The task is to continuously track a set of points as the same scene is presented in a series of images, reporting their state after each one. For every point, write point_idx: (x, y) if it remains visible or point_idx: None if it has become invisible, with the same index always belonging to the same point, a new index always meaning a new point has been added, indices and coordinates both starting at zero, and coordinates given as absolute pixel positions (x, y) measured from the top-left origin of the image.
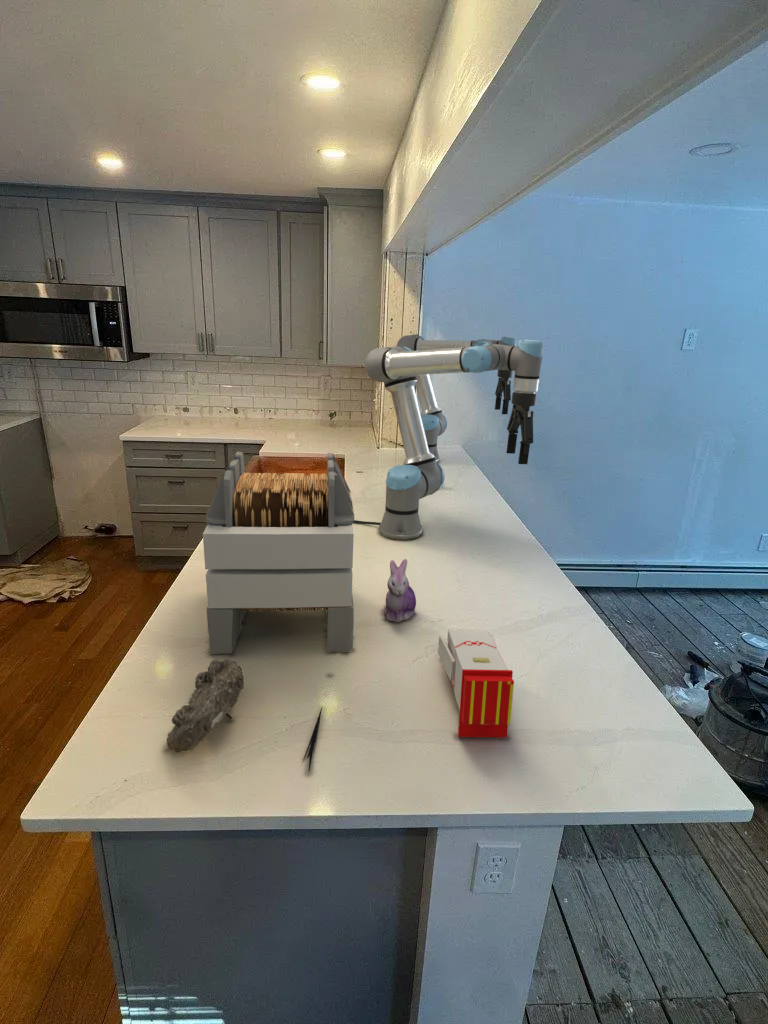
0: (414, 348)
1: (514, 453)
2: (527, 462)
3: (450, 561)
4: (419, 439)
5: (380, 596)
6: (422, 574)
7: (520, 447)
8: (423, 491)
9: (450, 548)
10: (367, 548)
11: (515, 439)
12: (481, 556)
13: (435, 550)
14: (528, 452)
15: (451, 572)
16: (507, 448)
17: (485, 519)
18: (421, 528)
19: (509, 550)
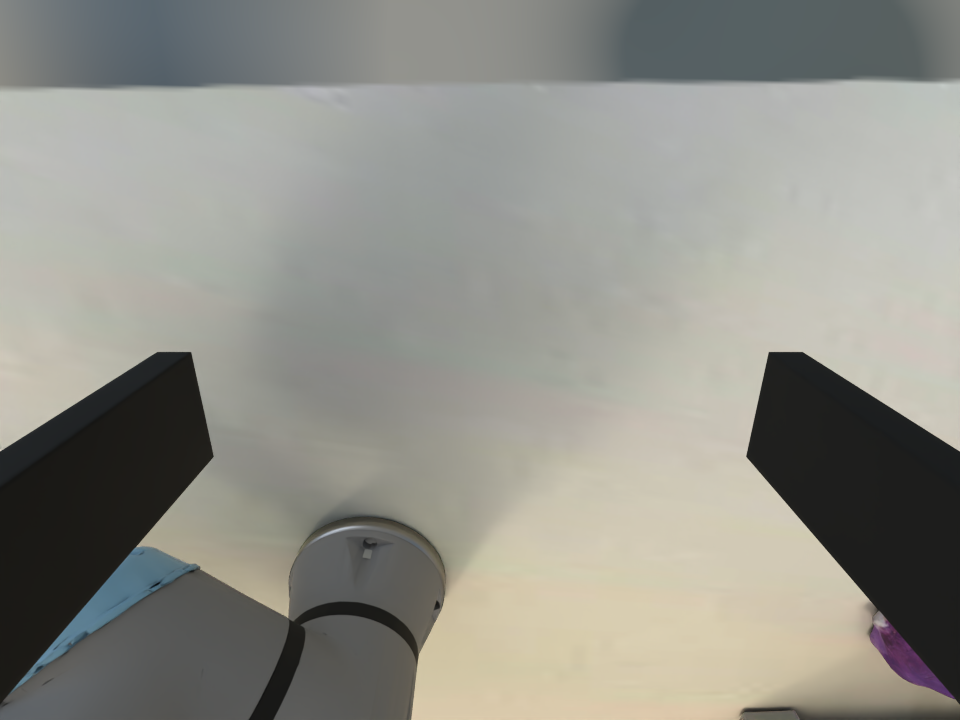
0: None
1: (191, 358)
2: (816, 362)
3: (619, 461)
4: None
5: (812, 648)
6: (704, 549)
7: (927, 643)
8: (322, 663)
9: (508, 443)
10: (510, 662)
11: (22, 498)
12: (583, 350)
13: (526, 492)
14: (934, 445)
15: (703, 471)
16: (174, 499)
17: (149, 234)
18: (384, 537)
19: (527, 219)
